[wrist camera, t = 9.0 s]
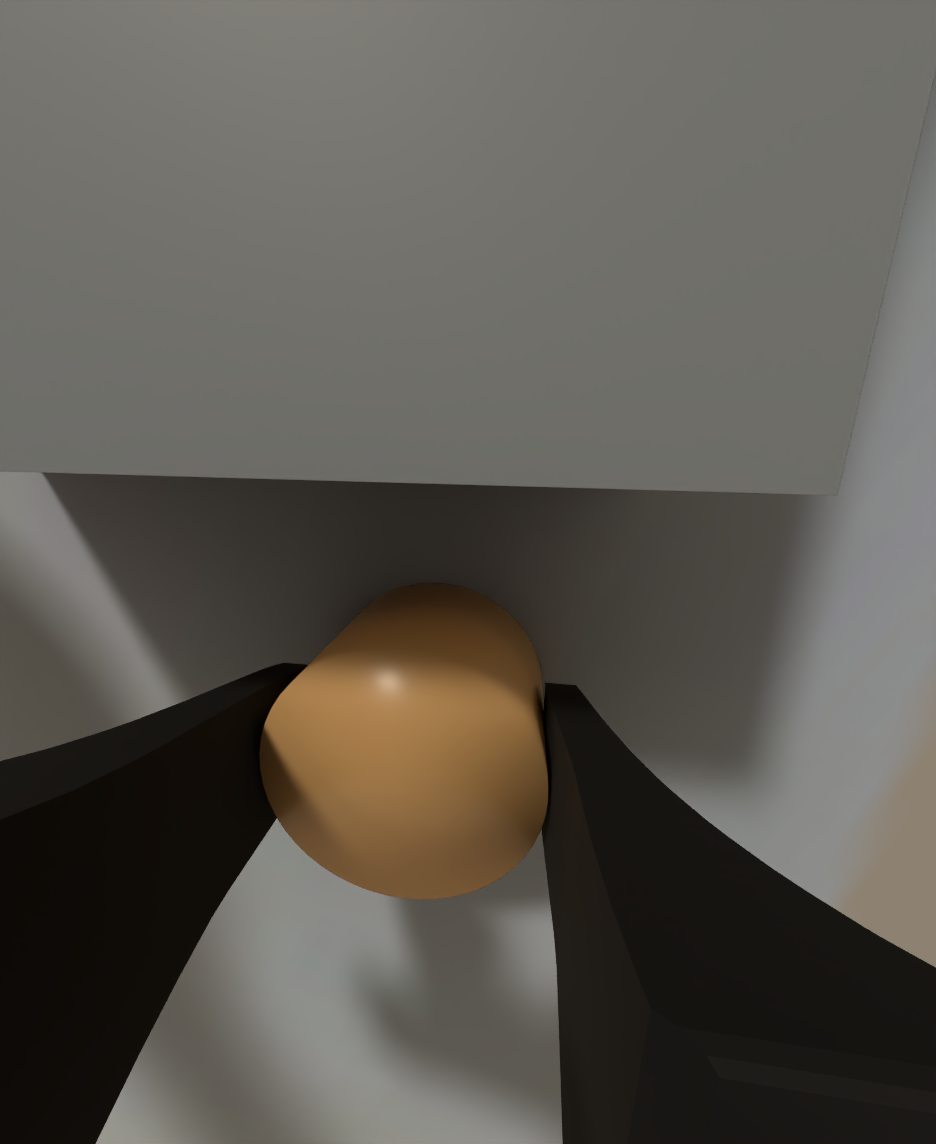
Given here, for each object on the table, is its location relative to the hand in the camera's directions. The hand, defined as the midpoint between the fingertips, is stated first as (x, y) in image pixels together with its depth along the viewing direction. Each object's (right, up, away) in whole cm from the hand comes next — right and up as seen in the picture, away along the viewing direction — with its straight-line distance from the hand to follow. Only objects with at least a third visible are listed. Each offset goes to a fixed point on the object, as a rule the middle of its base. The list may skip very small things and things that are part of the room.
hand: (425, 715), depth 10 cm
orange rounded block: (0, 0, +1) cm, 1 cm away
